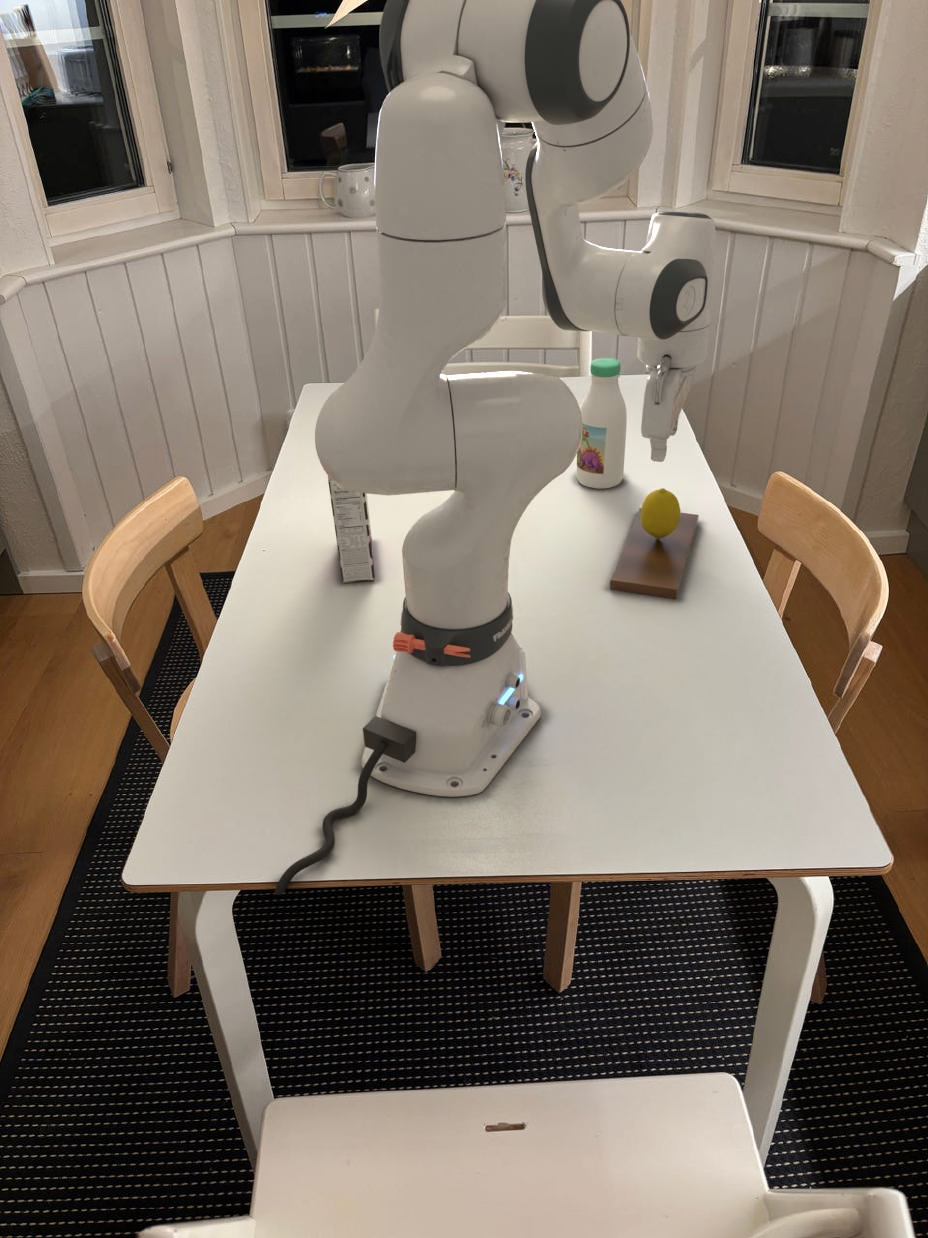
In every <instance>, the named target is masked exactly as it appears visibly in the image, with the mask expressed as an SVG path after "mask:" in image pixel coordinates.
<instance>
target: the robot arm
mask: <svg viewBox="0 0 928 1238" xmlns="http://www.w3.org/2000/svg"><path fill="white" fill-rule="evenodd" d="M379 24H380V25H379V39H378V40H379V43H378V44H379V56H380V63H381V67H382V73H383V76H384V81H385V85H386V89H387V91H388V94H387V95H386V97H385V98H384V101H383V102H382V105H381V108H380V110H379V115H378V123H377V131H376V132H377V133H376V142H375V144H376V145H375V157H374V213H375V227H376V228H375V229H376V240H377V241H376V242H377V243H376V244H377V257H378V286H379V287H378V290H379V291H378V314H377V322H376V327H375V331H374V334H373V337H372V340H371V343H370V345H369V348H368V350H367V352H366V354H365V356H364V357H363V359H362V361H361V363H360V364H359V366H358V367H357V368H356V369H355V370H354V372H353V373H352V375H350V377H348V379H347V380H346V381H344V383H342V384H341V385H340V386H339V387H337V389H335V390H334V391H333V392H331V394H330V395H329V396H328V398H327V399H326V400H325V401H324V403H323V405H322V407H321V408H320V411H319V413H318V416H317V419H316V422H315V429H314V444H315V451H316V455H317V458H318V461H319V463H320V465H321V467H322V470H323V471H324V472H325V474H326V475H327V477H328V476H329V478H330V479H331V480H332V481H333V482H334V483H335V484H336V485H337V486H338V487H339V488H341V489H342V490H345V491H352V492H360V493H367V495H368V494H369V495H378V496H397V495H398V496H399V495H401V496H402V495H411V494H423V493H436V492H447V491H453V492H452V494H451V495H450V496H449V497H448V498H447V499H446V500H445V501H444V502H443V503H441V504H439V505H437V506H436V507H433V509H431V510H429V511H428V512H426V513H424V514H423V515H422V516H420V517H419V518H418V519H417V520H416V521H415V522H414V524H413V525H412V526H411V527H410V529H409V530H408V532H407V533H406V535H405V537H404V540H403V543H402V547H401V556H402V567H403V568H402V569H403V580H404V581H403V582H404V594H405V597H404V599H403V602H402V610H401V613H400V630H399V631H397V632H396V633H395V635H394V636H393V640H392V648H393V651H394V652H395V654H394V655H393V663H392V667H391V670H390V675H389V679H387V681H386V683H385V685H384V688H383V691H382V695H381V698H380V700H379V703H378V707H377V710H376V713H375V716H374V717H372V719H371V720H370V721H368V722H367V724H366V725H364V726H363V727H362V734H363V741H364V742H363V743H364V750H363V753H362V756H361V768H362V770H361V773H360V775H359V778H358V783H357V796H356V799H355V800H354V802H353V803H352V804H350V805H347V806H343V807H339V808H335V809H333V810H331V811H329V812H328V813H327V814H326V815H325V816H324V818H323V820H322V825H321V826H322V832H323V834H324V838H325V840H324V843H323V844H322V846H321V847H320V848H319V849H317V850H316V851H314V852H313V853H311V854H308V855H306V856H304V857H303V858H301V859H299V860H297V861H295V862H294V863H292V864H291V865H290V866H289V867H288V868H287V869H286V870H284V872H283V874H282V875H281V877H280V878H279V879H278V882H277V884H276V887H275V889H274V894H275V895H276V896H279V895H280V896H281V895H283V894H284V893H285V892H286V890H287V888H288V886H289V885H290V882H291V880H293V878H294V877H295V876H297V874H299V873H300V872H302V871H304V870H305V869H307V868H308V867H311V866H312V865H315V864H316V863H318V862H320V861H322V860H323V859H325V857H327V856H328V855H329V854H330V853H331V852H332V850H333V849H334V847H335V843H336V836H335V832H334V829H333V823H334V821H335V820H338V819H341V818H347V817H349V816H353V815H355V814H356V813H358V812H359V811H360V810H361V809H362V808H363V807H364V805H365V804H366V801H367V797H368V785H369V784H368V783H369V780H370V778H371V777H373V779H376V780H378V781H379V782H381V783H384V784H386V785H388V786H392V787H393V788H394V787H395V788H398V789H401V790H405V791H408V792H412V793H418V794H424V795H428V796H436V797H449V798H451V797H452V798H453V797H454V798H455V797H456V798H457V797H467V796H473V795H478V794H480V793H482V792H483V791H484V790H485V789H486V788H487V787H488V786H489V784H490V783H491V782H492V781H493V780H494V778H495V777H496V776H497V774H498V773H499V771H500V770H501V769H502V767H503V766H504V765H505V764H506V762H507V761H508V760H509V758H510V757H511V756H512V754H513V753H514V752H515V751H516V749H517V748H518V747H519V746H520V744H521V743H522V742H523V740H524V739H525V738H526V736H527V735H528V734H529V733H530V731H531V730H532V728H533V727H534V726H535V725H536V723H537V722H538V721H539V719H540V718H541V716H542V714H541V707H540V705H539V704H538V703H537V702H536V700H534V699H532V698H531V697H530V696H529V692H528V690H529V689H528V675H527V662H526V661H527V660H526V653H525V651H524V649H523V647H522V646H520V644H519V643H518V641H517V639H516V638H515V636H514V635H513V633H512V631H513V621H514V607H513V601H512V597H511V594H510V592H509V568H510V567H509V565H510V554H511V546H512V540H513V537H514V533H515V531H516V528H517V526H518V524H519V522H520V520H521V518H522V516H523V514H524V512H525V511H526V510H527V508H528V506H529V505H530V504H531V503H532V501H533V500H534V499H535V497H536V496H538V495H539V494H540V492H541V491H542V490H544V488H545V487H546V486H548V485H549V484H550V483H551V482H552V481H554V480H555V479H556V478H558V477H559V476H561V475H562V474H564V473H565V472H566V471H567V470H568V469H569V467H570V466H571V464H572V463H573V462H574V460H575V459H576V457H577V452H578V449H579V447H580V443H581V439H582V429H583V424H582V416H581V411H580V408H581V406H580V405H579V403H578V402H579V401H578V400H577V398H576V396H575V395H574V393H573V391H572V390H571V388H570V387H569V386H568V385H567V384H566V383H565V381H564V380H562V379H561V378H560V377H558V376H555V375H548V374H542V373H535V372H527V371H520V370H505V371H491V372H478V373H463V374H452V375H451V374H449V375H446V374H443V371H444V369H445V368H446V366H448V364H449V363H450V361H451V360H452V359H454V358H455V356H458V354H459V353H461V352H462V351H463V350H465V349H467V348H469V347H471V346H473V345H475V344H476V343H478V342H479V341H480V340H482V339H484V338H485V337H486V336H488V334H489V333H490V332H491V331H492V330H493V329H494V327H496V325H497V324H498V323H499V321H500V319H501V318H502V316H503V313H504V311H505V308H506V304H507V201H506V185H505V173H504V164H503V162H504V161H503V155H502V150H501V139H502V136H503V132H504V129H505V127H506V123H522V124H523V123H531V124H532V128H533V130H534V132H535V133H534V134H535V136H536V142H535V143H534V145H533V146H532V148H531V150H530V152H529V155H528V157H527V159H526V165H525V172H524V181H525V182H524V183H525V192H526V199H527V206H528V210H529V215H530V220H531V226H532V230H533V236H534V240H535V244H536V250H537V254H538V259H539V263H540V269H541V293H542V295H541V296H542V302H543V306H544V308H545V310H546V312H547V314H548V316H549V318H550V319H551V321H553V323H554V324H555V326H557V327H558V328H559V329H561V330H563V331H570V332H571V331H572V332H573V331H574V332H595V333H601V334H608V335H615V336H621V337H630V338H631V337H632V338H637V351H636V352H637V353H636V354H637V355H636V357H637V360H638V361H639V362H641V363H643V364H644V365H646V366H645V371H646V372H647V373H648V374H649V375H648V377H647V378H646V382H645V388H644V393H643V403H642V414H641V423H640V432H641V437H642V438H644V439H649V442H650V449H651V450H650V459H651V461H652V462H656V463H657V462H659V463H662V462H664V461H665V460H666V458H667V449H668V445H667V443H668V439H669V438H670V437H671V436H673V437H674V436H675V435H676V433H677V431H678V425H679V418H680V414H681V412H682V409H683V407H684V405H685V402H686V399H687V398H688V396H689V394H690V391H691V390H692V386H693V381H694V377H695V373H696V368H697V366H700V365H701V364H703V363H705V362H706V361H707V357H708V349H709V338H710V328H711V314H710V305H709V304H710V300H711V296H712V294H713V291H714V288H715V279H716V267H717V233H716V225H715V224H716V223H715V220H714V219H713V218H712V217H711V216H709V215H707V214H706V213H701V212H688V211H676V210H660V211H658V212H656V213H654V214H652V215H651V218H650V223H649V226H648V231H647V237H646V243H645V246H644V247H643V248H642V249H641V250H639V251H638V250H630V249H629V250H628V249H619V248H617V249H616V248H610V247H603V246H599V245H597V244H594V243H591V242H590V241H588V240H586V239H585V238H584V237H583V233H582V224H581V219H580V212H579V211H580V210H579V205H580V204H582V203H585V202H589V201H595V200H597V199H600V198H603V197H605V196H607V195H609V194H611V193H612V192H615V191H616V190H617V189H619V188H620V187H621V186H623V185H624V184H625V183H626V182H627V181H628V180H629V179H631V178H632V176H633V175H634V174H636V172H637V171H638V170H639V168H640V167H641V165H642V163H643V162H644V161H645V159H646V156H647V155H648V152H649V149H650V146H651V143H652V141H653V135H654V118H653V116H654V115H653V109H652V103H651V98H650V94H649V90H648V85H647V82H646V78H645V74H644V70H643V67H642V63H641V60H640V57H639V54H638V50H637V47H636V45H635V42H634V39H633V37H632V34H631V31H630V23H629V18H628V14H627V11H626V8H625V5H624V4H623V2H622V0H386V3H385V5H384V8H383V12H382V15H381V18H380V23H379Z"/></svg>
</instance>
